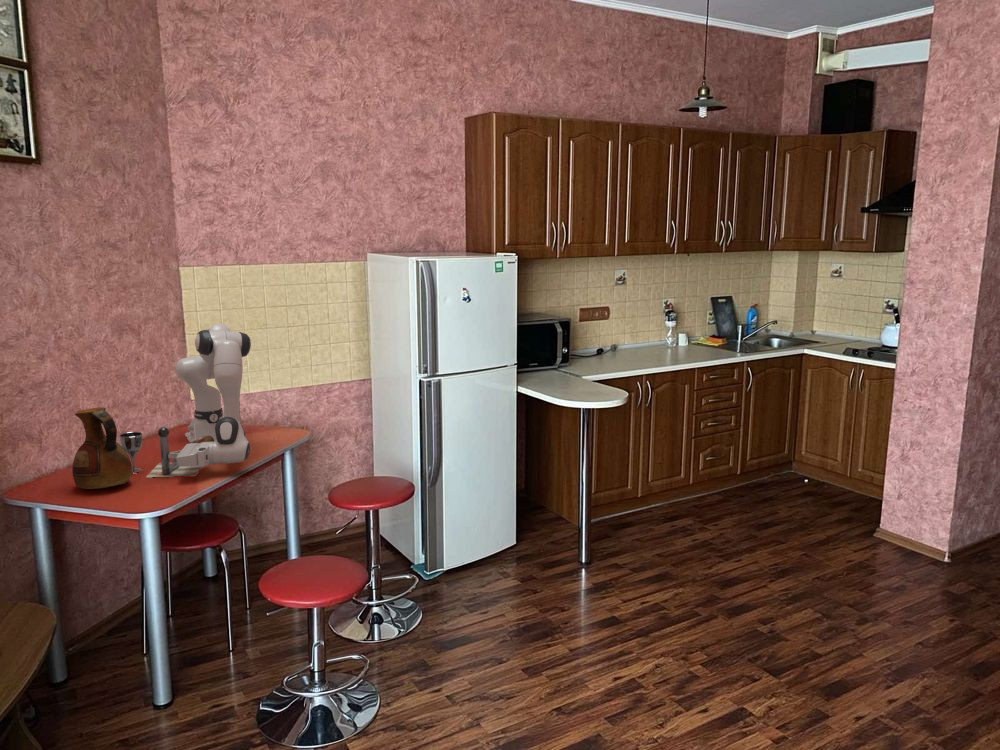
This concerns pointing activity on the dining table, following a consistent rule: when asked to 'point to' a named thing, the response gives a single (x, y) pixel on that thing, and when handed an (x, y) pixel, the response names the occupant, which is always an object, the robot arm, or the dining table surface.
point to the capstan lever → (165, 452)
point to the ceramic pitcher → (100, 453)
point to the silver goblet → (131, 445)
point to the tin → (204, 439)
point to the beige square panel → (174, 471)
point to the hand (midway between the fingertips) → (168, 455)
